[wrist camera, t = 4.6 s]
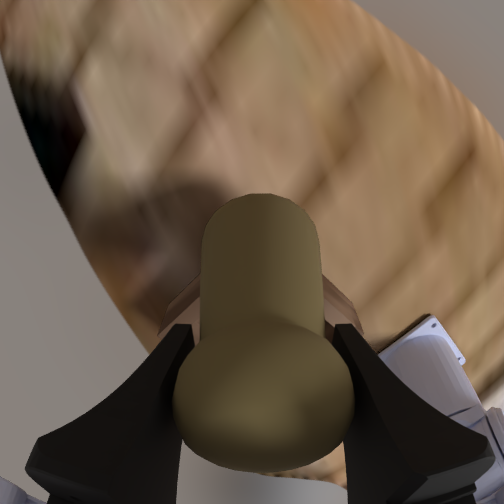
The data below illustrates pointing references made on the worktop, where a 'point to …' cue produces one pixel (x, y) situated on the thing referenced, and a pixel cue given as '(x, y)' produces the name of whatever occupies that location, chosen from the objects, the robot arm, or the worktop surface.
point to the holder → (188, 310)
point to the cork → (262, 345)
